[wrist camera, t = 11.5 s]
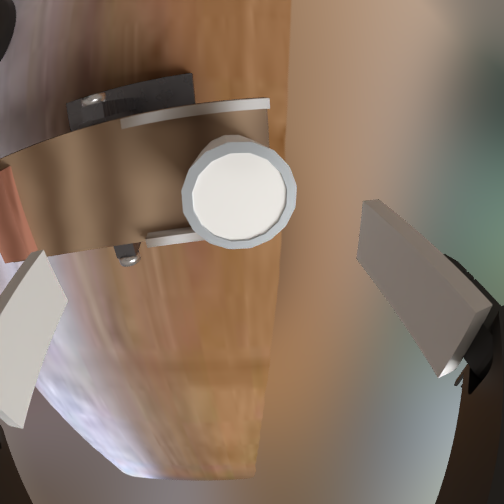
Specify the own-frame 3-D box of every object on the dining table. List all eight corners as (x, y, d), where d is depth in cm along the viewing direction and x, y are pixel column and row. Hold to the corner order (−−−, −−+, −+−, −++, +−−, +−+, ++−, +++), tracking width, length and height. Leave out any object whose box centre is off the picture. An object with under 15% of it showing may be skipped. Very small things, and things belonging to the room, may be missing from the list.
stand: (99, 226, 37) (65, 282, 26) (71, 102, 28) (14, 114, 17) (208, 209, 39) (210, 263, 28) (192, 73, 29) (183, 63, 18)
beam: (24, 249, 26) (6, 271, 22) (-5, 160, 20) (-30, 174, 16) (267, 212, 28) (276, 234, 24) (260, 97, 22) (270, 98, 19)
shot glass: (243, 221, 25) (255, 266, 19) (173, 183, 23) (160, 219, 17) (290, 156, 23) (319, 183, 17) (219, 110, 20) (222, 118, 14)
